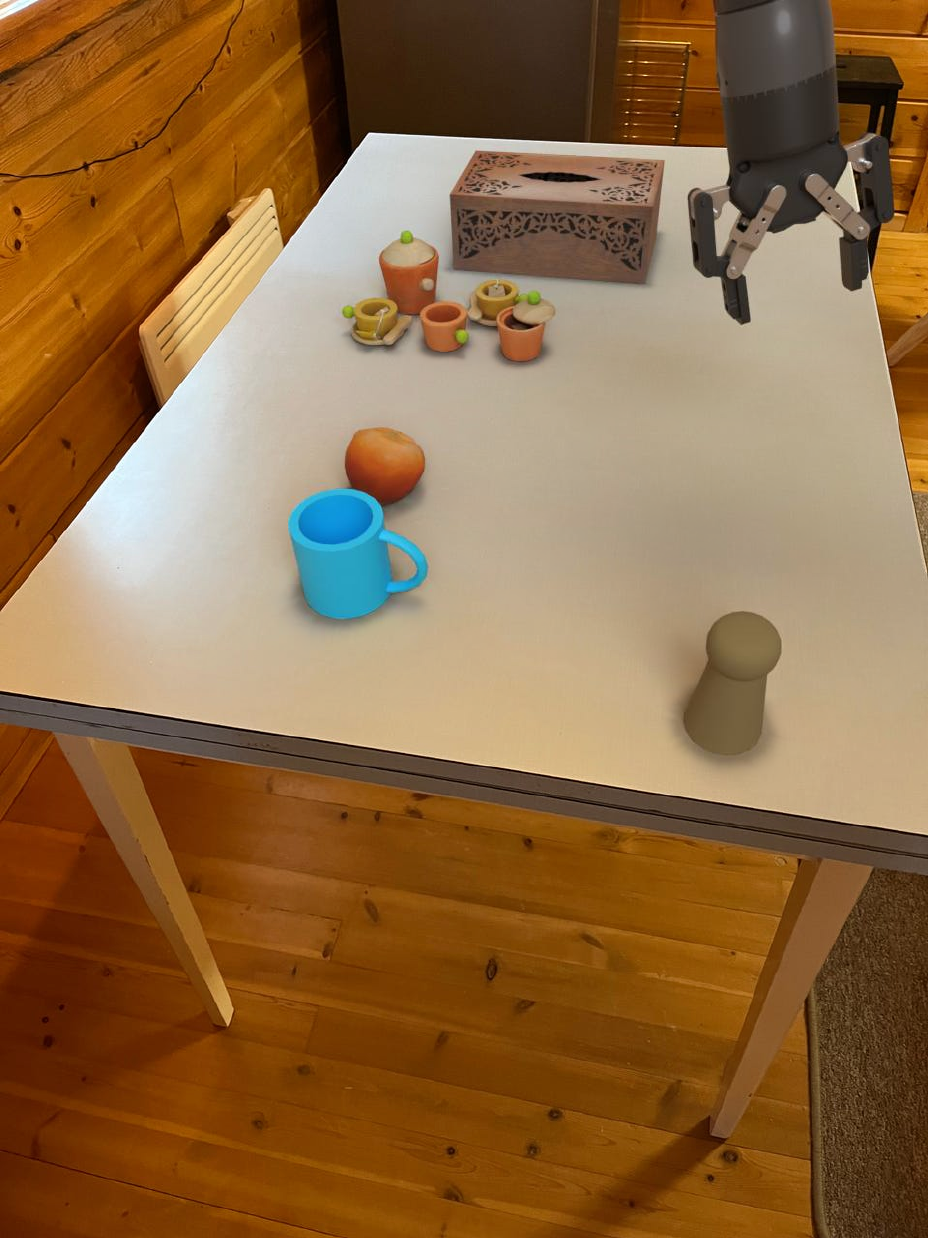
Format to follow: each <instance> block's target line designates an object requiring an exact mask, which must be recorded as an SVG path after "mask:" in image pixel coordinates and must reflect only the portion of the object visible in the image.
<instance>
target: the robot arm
mask: <svg viewBox="0 0 928 1238" xmlns="http://www.w3.org/2000/svg"><path fill="white" fill-rule="evenodd" d="M712 3H713V11H714V24H715V25H714V27H715V32H714V33H715V34H714V35H715V36H714V37H715V40H714V44H715V45H714V46H715V47H714V48H715V49H714V50H715V51H714V52H715V62H716V74H715V75H716V82H717V87H718V89H719V94H720V103H721V104H720V105H721V112H722V119H723V128H724V137H725V145H726V153H727V161H728V169H729V170H728V176H727V180H726V183H725V184H723V185H720V186H715V187H712V188H708V189H702V188H700V187H694V188H691V190H689V191H688V193H687V197H686V198H687V199H686V200H687V207H688V208H687V209H688V219H689V231H690V243H691V254H692V265H693V268H694V269H695V270H696V271H698V272H699V273H700V274H701V275H702V276H703V277H704V278H705V279H711V278H720V283H721V289H722V290H721V291H722V297H723V304H724V310H725V311H726V313H727V315H728V316H729V317H730V318H731V319H732V320H735V321H736V322H737V323H738V324H739V325H740V326H743V325H746V324H750V323H751V321H752V318H751V309H750V302H749V292H748V284H747V276H746V275H745V274H743V271H744V270H745V268H746V266H747V264H748V262H749V260H750V259H751V256H752V254H753V253H754V252H755V251H757V250H758V248H759V247H760V245H761V242H762V240H763V239H764V236H765V235H766V233H771V234H773V235H775V234H777V233H782V232H784V231H786V230H787V229H789V228H791V227H793V226H795V225H807V224H810V223H812V222H816V221H817V218H818V217H819V216H820V215H821V214H823V215H824V216H826V217H827V218H828V219H829V220H830V221H832V222H833V223H834V225H836V226H837V227H838V228H839V229H840V230H841V231H842V236H841V237H839V238H838V243H839V259H840V275H841V284H842V286H843V288H845V289H846V290H848V291H850V292H855V291H858V290H861V289H862V288H863V281H865V280H867V279H868V275H869V273H870V266H869V250H868V249H869V245H868V240H869V239H868V238H869V236H870V234H871V232H872V231H873V230H875V228H877V227H878V226H880V225H881V224H887V223H889V222H891V221H892V220H893V219H894V216H895V214H896V213H895V212H896V211H895V201H894V191H893V179H892V177H893V176H892V167H891V157H890V156H891V155H890V146H889V145H890V143H889V140H888V139H887V138H886V137H885V136H882V135H881V134H876V133H873V132H864V133H862V134H861V135H860V136H859V137H858V139H857V140H856V141H853V142H851V143H848V144H846V145H843V144H842V142H841V138H840V131H841V130H840V127H841V126H840V111H839V94H838V77H837V60H836V43H835V26H834V25H835V24H834V16H833V10H832V5H831V0H712ZM848 163H850V164H851V168H852V169H853V170H854V171H856V172H859V173H860V174H859V175H860V183H861V193H862V202H863V208H862V209H861V210H859V211H858V212H857V211H856V210H855V208H854V207H853V206H852V205H851V204H850V203H849V202H848V201H847V200H846V199H845V198H843V196H842V195H840V193H838V192H837V191H836V188H837V186H838V184H839V182H840V180H841V178H842V176H843V174H844V172H845V170H846V169H847V166H848ZM728 201H729V203H730V204H732V205H733V207H735V208H736V209H737V210H738V211H739V213H738V215H737V216H736V219H735V221H734V223H733V225H732V227H731V229H730V231H729V234H728V240H727V242H726V244H725V246H724V248H723V250H722V252H721V254H720V255H718V253H717V240H716V239H717V238H716V226H715V224H716V223H715V222H716V221H717V220H718V219H720V218H721V216H722V213H723V208H724V206H725V204H726V203H727V202H728Z"/></svg>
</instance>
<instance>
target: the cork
mask: <svg viewBox="0 0 928 1238" xmlns="http://www.w3.org/2000/svg"><path fill="white" fill-rule="evenodd" d="M705 653H706V656H707V658H708V659H707V661H706V664H705V666H704V668H703V670H702V673H701V674H700V677H699V679H698V681H697V683H696V686H695V688H694V690H693V692H692V694H691V697H690V698H689V701H688V703H687V706H686V707H685V710H684V714H683V725H684V729H685V732H686V733H687V734H688V736H689V737H690V739H691V740H692V741H693V742H694V743H696V745H698V746H699V747H701V748H702V749H704V750H707V751H708V752H711V753H713V754H719V755H724V756H731V755H739V754H742V753H745V752H747V751H750V750H751V749H753V748H754V746H756V745H757V744H758V742H759V741H760V738H761V736H762V734H763V725H764V712H765V702H766V692H767V682H768V675H769V674H770V673H771V672H772V671H773V670H774V669H775V668H776V667H777V664H778V663H779V660H780V658H781V655H782V638H781V636H780V633H779V630H778V629H777V627H776V626H775V625H774V624H773V623H772V622H771V621H770V620H769V619H768V618H766V617H765V616H763V615H761V614H759V613H755V612H753V611H743V610H742V611H741V610H740V611H732V612H730V613H729V612H728V613H727V614H724V615H723V616H720V618H718V619H717V620H715V621H714V622H713V624H711V627H710V629H709V630H708V632H707V635H706V640H705Z"/></svg>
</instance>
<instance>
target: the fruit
mask: <svg viewBox="0 0 928 1238" xmlns="http://www.w3.org/2000/svg"><path fill="white" fill-rule="evenodd" d="M425 469H426V457H425V454H424V449H423V448H422V447H421V446H420V445H419V444H418V443H417V442H416V441H415V440H414V438H413V437H411V436H410V435H407V434H406V433H403V432H402V431H398V430H395V429H393V428H389V427H381V426H379V427H378V426H377V427H371V428H365V429H359V430H357V431H356V432H354V433H353V435H352V438H351V439H350V442H349V444H348V446H347V448H346V451H345V454H344V471H345V474H346V477H347V480H348V483H349V485H350V487H351V489H353V490H357V491H361V492H365V493H366V494H368V495H370V496H371V497H373V498H375V499H376V501H377V502H378V503H379V504H380V506H382V505H388V504H392V503H393V504H394V503H397V502H399V501H401V500H402V499H404V498H405V497H406V496H407V495H409V494H410V493H411V492H412V491H413V490H414V488H415V487H416V486H417V484H418V483H419V481H420V480H421V478H422V475H423V474H424V472H425Z"/></svg>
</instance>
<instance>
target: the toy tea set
mask: <svg viewBox="0 0 928 1238" xmlns="http://www.w3.org/2000/svg"><path fill="white" fill-rule="evenodd" d="M439 256H440V255H439V252H438V250H437V249H436V248H435V247H434V246H433V245H431V244H429V243H428V242H426V241H424V240H422V239H420V238H417V237H413V233H412V232H411V231H409V230H404V231H402V232H401V233H400V238H398V239H396V240H394V241H392V242H391V243H390V244H389V245H387V246H386V247H385V248H383V250H382V251H381V252H380V254H379V255H378V264H379V268H380V271H381V275H382V278H383V279H382V280H383V282H384V286H385V289H386V294H387V297H388V298H385V297H370V298H365V299H363V300H361V301H359V302H357V303H356V304H355V305H354V306H352V305H348V304H347V305H345V306H343V308H342V310H341V311H342V312H341V313H342V316H343V317H344V318H346V319H352V318H354V320H355V322H354V323H353V324H352V326H351V329H350V332H351V337H352V338H353V339H354V340H355V341H356V342H358V343H361V344H364V345H367V346H381V345H382V346H383V345H388V346H389V345H392V344H395V342H396V341H397V340H398V339H400V338H401V337H402V336H403V335H404V333H405V331H406V329H408V328H409V327H410V326H411V325H412V323H413V318H412V316H411V315H418V314H419V319H420V323H421V324H420V325H421V327H422V328H421V329H422V332H423V336H424V340H425V344H426V346H427V347H428V349H431V350H432V351H435V352H437V353H447V352H453V351H456V350H457V349H459V348H461V346H463V344H465V343H467V342H468V341H469V333H468V331H467V330H466V327H467V318H468V319H469V320H471V321H475V322H476V323H479V324H481V325H484V326H490V327H497V332H498V336H499V337H498V338H499V342H500V346H501V347H500V348H501V353H502V355H503V356H504V357H505V358H506V359H508V360H511V361H514V362H527V361H531V360H533V359H536V358H537V357H538V356H539V355H540V354H541V349H542V344H543V340H544V334H545V329H546V323H547V322H549V321H551V320H552V319H553V318H554V317H555V316H556V314H557V313H556V311H557V310H556V307H555V306H554V304H553V303H552V302H549V301H548V300H546V299H544V298H541V293H540V292H539V291H537V290H531V291H529V293H528V294H526V293H522V294H520V295H519V293H520V288H519V286H518V285H517V284H516V283H515V282H514V281H513V282H512V281H510V280H506V279H499V278H498V277H497V278H496V279H490V280H487V281H483V282H481V283H480V284H478V286H476V288H475V291H471V292H470V293H469V305H470V307H469V309H468V310H467V308H466V307H465V306H464V305H462V304H461V303H458V302H454V301H437V302H435V301H436V294H437V293H436V292H437V281H438V269H439V261H440V259H439V258H440V257H439ZM398 313H400V314H402V315H401V316H399V317H398Z"/></svg>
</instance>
